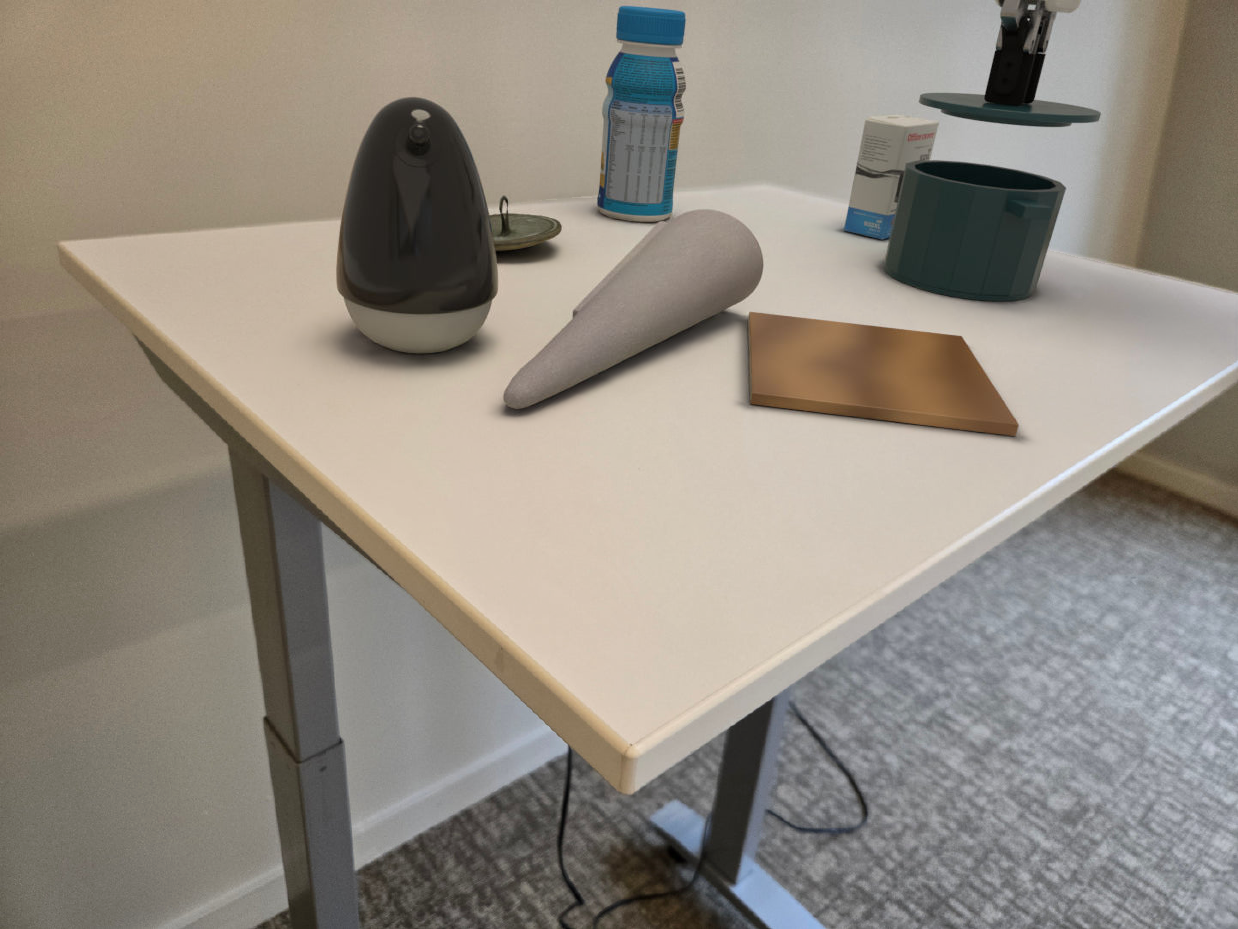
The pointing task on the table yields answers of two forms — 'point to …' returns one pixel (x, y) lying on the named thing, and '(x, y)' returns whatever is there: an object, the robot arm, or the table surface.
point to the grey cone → (647, 301)
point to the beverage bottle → (642, 116)
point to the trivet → (872, 374)
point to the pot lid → (1010, 109)
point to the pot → (972, 229)
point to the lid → (521, 229)
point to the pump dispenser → (416, 233)
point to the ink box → (885, 170)
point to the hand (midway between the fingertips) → (1008, 100)
